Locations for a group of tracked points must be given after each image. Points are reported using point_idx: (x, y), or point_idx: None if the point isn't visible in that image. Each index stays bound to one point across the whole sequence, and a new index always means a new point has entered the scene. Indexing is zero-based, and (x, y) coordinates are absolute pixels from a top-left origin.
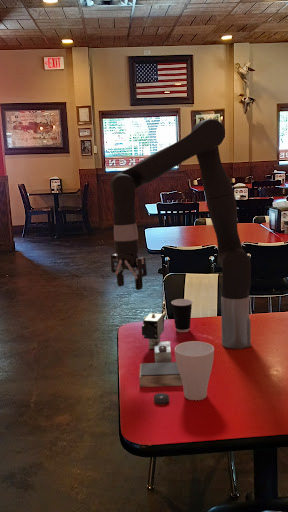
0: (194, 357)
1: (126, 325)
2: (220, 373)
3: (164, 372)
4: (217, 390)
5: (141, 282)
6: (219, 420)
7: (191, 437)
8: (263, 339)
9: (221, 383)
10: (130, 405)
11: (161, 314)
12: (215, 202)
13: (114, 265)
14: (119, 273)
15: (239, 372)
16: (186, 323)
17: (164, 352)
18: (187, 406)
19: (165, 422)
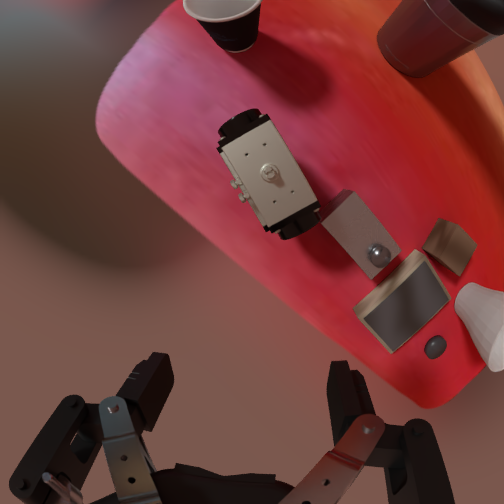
0: None
1: (96, 125)
2: (468, 203)
3: (424, 316)
4: (485, 262)
5: (367, 401)
6: None
7: (482, 364)
8: None
9: (482, 237)
10: (401, 380)
11: (272, 129)
12: None
13: (84, 465)
14: (138, 431)
15: (485, 178)
16: (257, 30)
17: (389, 262)
18: (466, 328)
19: (454, 369)
